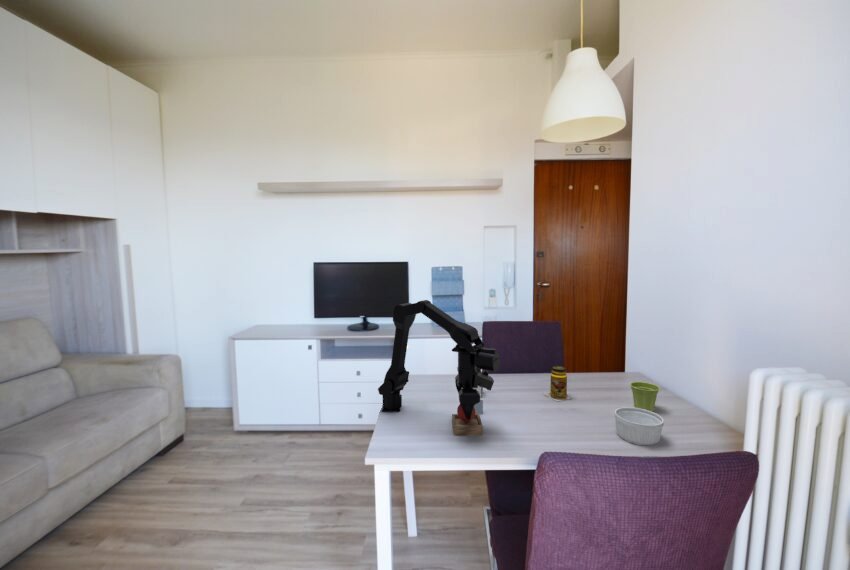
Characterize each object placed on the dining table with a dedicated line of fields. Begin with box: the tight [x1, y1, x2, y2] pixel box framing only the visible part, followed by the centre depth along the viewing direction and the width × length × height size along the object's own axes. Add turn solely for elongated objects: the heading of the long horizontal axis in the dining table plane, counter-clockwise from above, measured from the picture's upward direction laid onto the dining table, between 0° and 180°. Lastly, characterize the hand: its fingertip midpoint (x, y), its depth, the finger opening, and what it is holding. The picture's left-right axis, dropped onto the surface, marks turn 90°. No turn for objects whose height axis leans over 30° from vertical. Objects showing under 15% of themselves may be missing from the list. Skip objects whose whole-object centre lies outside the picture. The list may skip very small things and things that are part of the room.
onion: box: [456, 403, 475, 423], centre depth 122 cm, size 6×6×8 cm
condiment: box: [543, 365, 572, 402], centre depth 149 cm, size 7×8×12 cm
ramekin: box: [614, 406, 665, 446], centre depth 115 cm, size 13×13×7 cm
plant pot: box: [629, 381, 661, 412], centre depth 136 cm, size 9×9×9 cm
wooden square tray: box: [451, 413, 484, 437], centre depth 122 cm, size 9×9×4 cm
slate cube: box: [474, 397, 484, 415], centre depth 136 cm, size 5×5×5 cm
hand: (466, 413), depth 122 cm, fingers open, 9 cm apart
